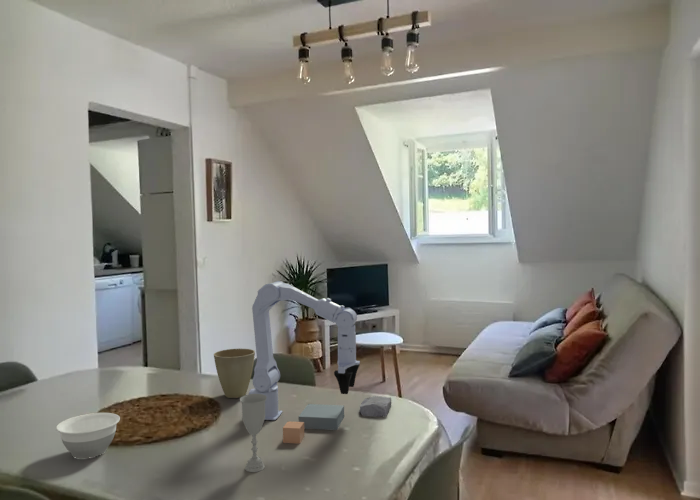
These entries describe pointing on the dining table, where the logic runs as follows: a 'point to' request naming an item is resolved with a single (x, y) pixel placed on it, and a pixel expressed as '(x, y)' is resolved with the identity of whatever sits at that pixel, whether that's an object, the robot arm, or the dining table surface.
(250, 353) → the plant pot
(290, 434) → the terracotta block
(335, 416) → the slate box
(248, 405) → the chalice
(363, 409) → the stone block
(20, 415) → the dining table surface
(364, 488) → the dining table surface
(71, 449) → the bowl
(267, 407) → the robot arm
